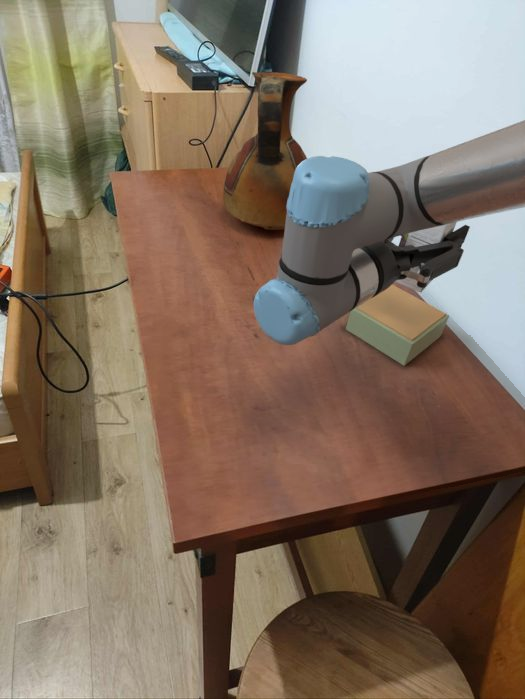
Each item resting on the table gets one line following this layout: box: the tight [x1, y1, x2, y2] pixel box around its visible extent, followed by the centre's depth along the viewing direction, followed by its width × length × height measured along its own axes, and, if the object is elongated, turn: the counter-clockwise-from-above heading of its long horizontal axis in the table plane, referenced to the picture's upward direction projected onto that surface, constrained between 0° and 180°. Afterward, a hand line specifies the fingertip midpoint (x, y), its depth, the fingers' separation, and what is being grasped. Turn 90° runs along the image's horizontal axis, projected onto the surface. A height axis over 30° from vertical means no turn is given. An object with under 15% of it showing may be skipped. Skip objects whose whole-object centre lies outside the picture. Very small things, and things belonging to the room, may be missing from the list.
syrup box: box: [394, 222, 458, 293], centre depth 76 cm, size 6×6×14 cm
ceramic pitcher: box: [222, 71, 308, 231], centre depth 107 cm, size 20×20×30 cm
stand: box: [345, 284, 450, 367], centre depth 87 cm, size 12×12×5 cm
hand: (443, 224), depth 78 cm, fingers closed on syrup box, 6 cm apart
